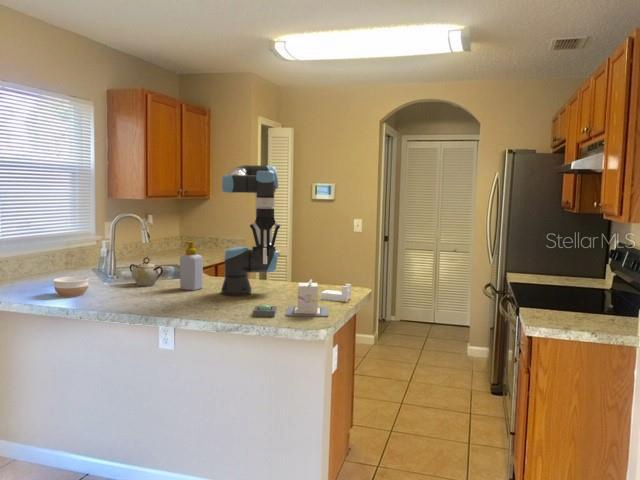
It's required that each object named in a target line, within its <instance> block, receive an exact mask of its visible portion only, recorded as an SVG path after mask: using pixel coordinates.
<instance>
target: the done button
mask: <svg viewBox="0 0 640 480" xmlns="http://www.w3.org/2000/svg"><path fill="white" fill-rule="evenodd" d="M258 306H259V310H271V306H272V305H271V304H267V303H266V304H265V303H264V304H259V305H258Z"/></svg>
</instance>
